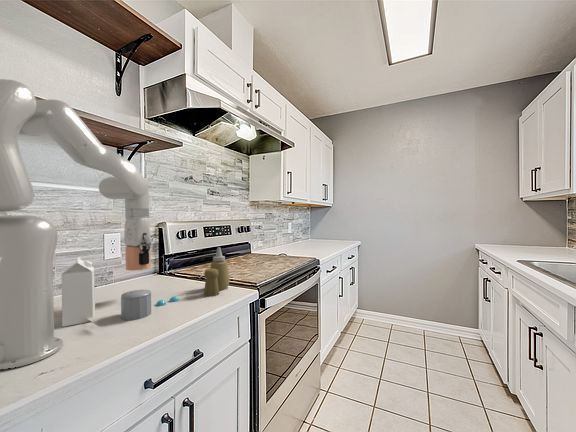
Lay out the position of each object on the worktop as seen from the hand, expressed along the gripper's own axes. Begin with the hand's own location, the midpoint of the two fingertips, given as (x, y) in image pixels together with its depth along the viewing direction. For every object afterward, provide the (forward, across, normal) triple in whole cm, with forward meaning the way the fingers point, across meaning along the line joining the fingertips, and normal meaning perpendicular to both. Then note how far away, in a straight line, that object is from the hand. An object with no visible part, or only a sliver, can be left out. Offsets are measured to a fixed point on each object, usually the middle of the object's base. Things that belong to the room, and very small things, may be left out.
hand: (138, 262), depth 96 cm
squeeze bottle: (+15, +14, +25) cm, 32 cm away
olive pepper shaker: (+15, +18, +18) cm, 29 cm away
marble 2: (+13, +13, +6) cm, 19 cm away
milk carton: (+14, +2, -18) cm, 23 cm away
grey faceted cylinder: (+14, +16, -8) cm, 23 cm away
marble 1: (+13, +13, +1) cm, 18 cm away
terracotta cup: (+2, 0, 0) cm, 2 cm away
